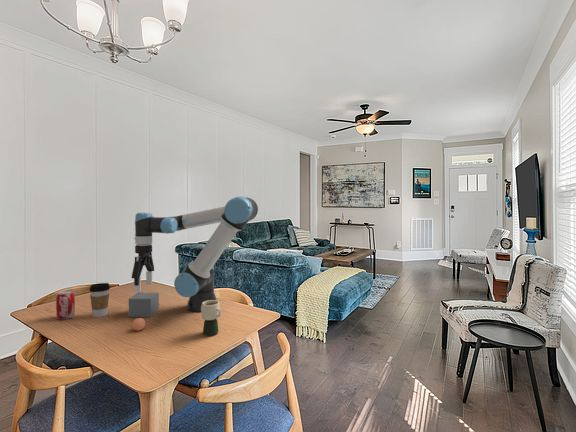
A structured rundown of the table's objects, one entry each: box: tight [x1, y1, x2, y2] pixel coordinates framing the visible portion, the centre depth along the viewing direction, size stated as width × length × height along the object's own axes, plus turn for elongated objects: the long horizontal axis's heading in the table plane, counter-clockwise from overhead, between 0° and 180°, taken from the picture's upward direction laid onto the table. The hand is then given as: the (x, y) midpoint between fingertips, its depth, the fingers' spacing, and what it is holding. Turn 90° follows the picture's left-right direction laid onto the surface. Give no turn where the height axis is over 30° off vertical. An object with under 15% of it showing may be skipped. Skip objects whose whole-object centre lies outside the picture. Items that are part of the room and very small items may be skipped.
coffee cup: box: [88, 282, 111, 318], centre depth 148 cm, size 8×8×15 cm
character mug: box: [201, 300, 222, 336], centre depth 129 cm, size 11×7×13 cm, turn 59°
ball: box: [131, 317, 146, 331], centre depth 132 cm, size 5×5×5 cm
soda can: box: [55, 290, 76, 321], centre depth 145 cm, size 7×7×12 cm
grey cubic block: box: [128, 292, 160, 318], centre depth 151 cm, size 10×10×9 cm
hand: (143, 288), depth 151 cm, fingers open, 13 cm apart
